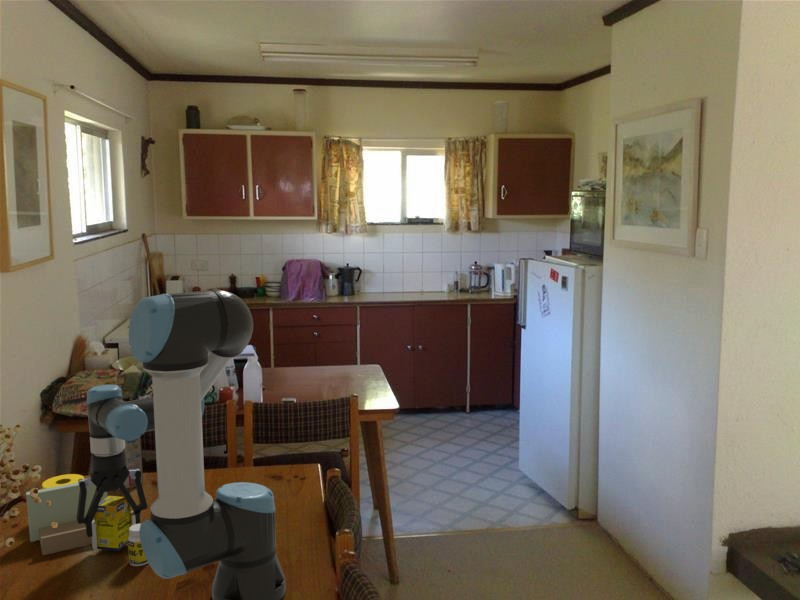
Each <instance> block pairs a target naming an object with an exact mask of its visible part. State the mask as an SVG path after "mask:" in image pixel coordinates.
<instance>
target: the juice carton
mask: <svg viewBox="0 0 800 600" xmlns="http://www.w3.org/2000/svg"><path fill="white" fill-rule="evenodd" d="M141 436H142V435H141ZM141 436H140V437H138V438H137V439H135V440H131V441H126V440H125V448H124V450H125V451H126V464H127V468H128V470H135V469H136V468H139V470H140V471H141V484H142V485H144V474H143V456H142V453H143V452H142V439H141V438H142V437H141ZM124 485H125V487H126V488H127V489H130V488H132V487H135V483H134V479H132V478H131V475H129V476H128V477H127V479H126V480H125V482H124ZM118 490H120V488H119V489H118Z"/></svg>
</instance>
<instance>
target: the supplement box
mask: <svg viewBox="0 0 800 600" xmlns="http://www.w3.org/2000/svg"><path fill="white" fill-rule="evenodd" d="M131 511H132V509H131V506H130V504H129V503H128V501H127V499H126V498H125V496H117V495H108V497H107V498H105V499H104V500H102V501H101V502H100V503H99V505H98V508H97V510H96V513H95V524H96V536H97V550H101V551H103V550H104V551H113V552H119V551H121V550H122V549H123V548H124V547H126V546H127V545H128V537H129V528H130V527H131V526H132V525H131Z"/></svg>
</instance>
